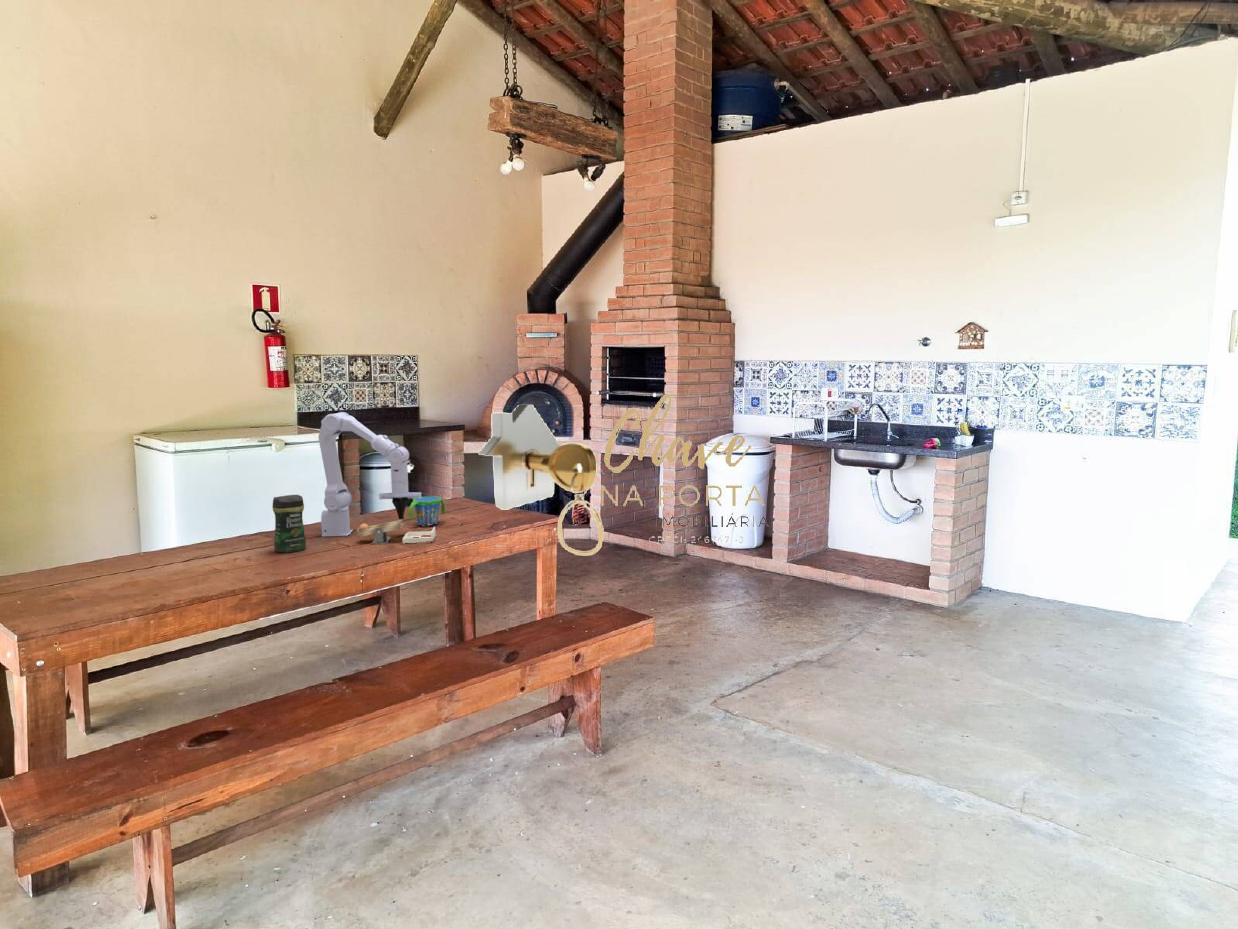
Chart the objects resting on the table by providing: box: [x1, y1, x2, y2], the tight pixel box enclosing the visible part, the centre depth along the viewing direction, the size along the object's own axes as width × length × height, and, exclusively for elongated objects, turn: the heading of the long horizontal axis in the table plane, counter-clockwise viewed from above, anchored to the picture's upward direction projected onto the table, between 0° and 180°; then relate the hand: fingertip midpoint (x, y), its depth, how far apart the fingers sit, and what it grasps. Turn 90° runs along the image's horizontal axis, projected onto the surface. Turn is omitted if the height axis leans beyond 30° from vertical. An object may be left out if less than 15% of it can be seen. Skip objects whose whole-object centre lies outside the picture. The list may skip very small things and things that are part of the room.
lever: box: [356, 518, 408, 538], centre depth 284 cm, size 15×13×2 cm
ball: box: [359, 523, 369, 530], centre depth 280 cm, size 3×3×3 cm
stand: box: [371, 529, 392, 545], centre depth 281 cm, size 5×9×5 cm, turn 7°
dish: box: [402, 526, 436, 545], centre depth 282 cm, size 10×10×4 cm
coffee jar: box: [271, 494, 307, 553], centre depth 268 cm, size 10×8×19 cm
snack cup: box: [408, 496, 446, 525], centre depth 306 cm, size 16×10×10 cm
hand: (401, 518), depth 288 cm, fingers closed
